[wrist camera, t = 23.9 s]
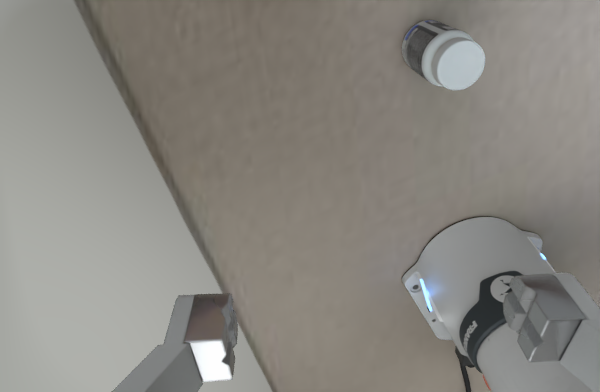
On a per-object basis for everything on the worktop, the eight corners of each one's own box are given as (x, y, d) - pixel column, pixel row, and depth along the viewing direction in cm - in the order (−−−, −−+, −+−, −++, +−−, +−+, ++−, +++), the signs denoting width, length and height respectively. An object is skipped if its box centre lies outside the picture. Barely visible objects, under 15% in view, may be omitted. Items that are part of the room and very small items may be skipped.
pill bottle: (409, 78, 41) (441, 105, 34) (394, 34, 39) (424, 54, 32) (454, 55, 40) (496, 78, 33) (441, 9, 38) (483, 24, 31)
